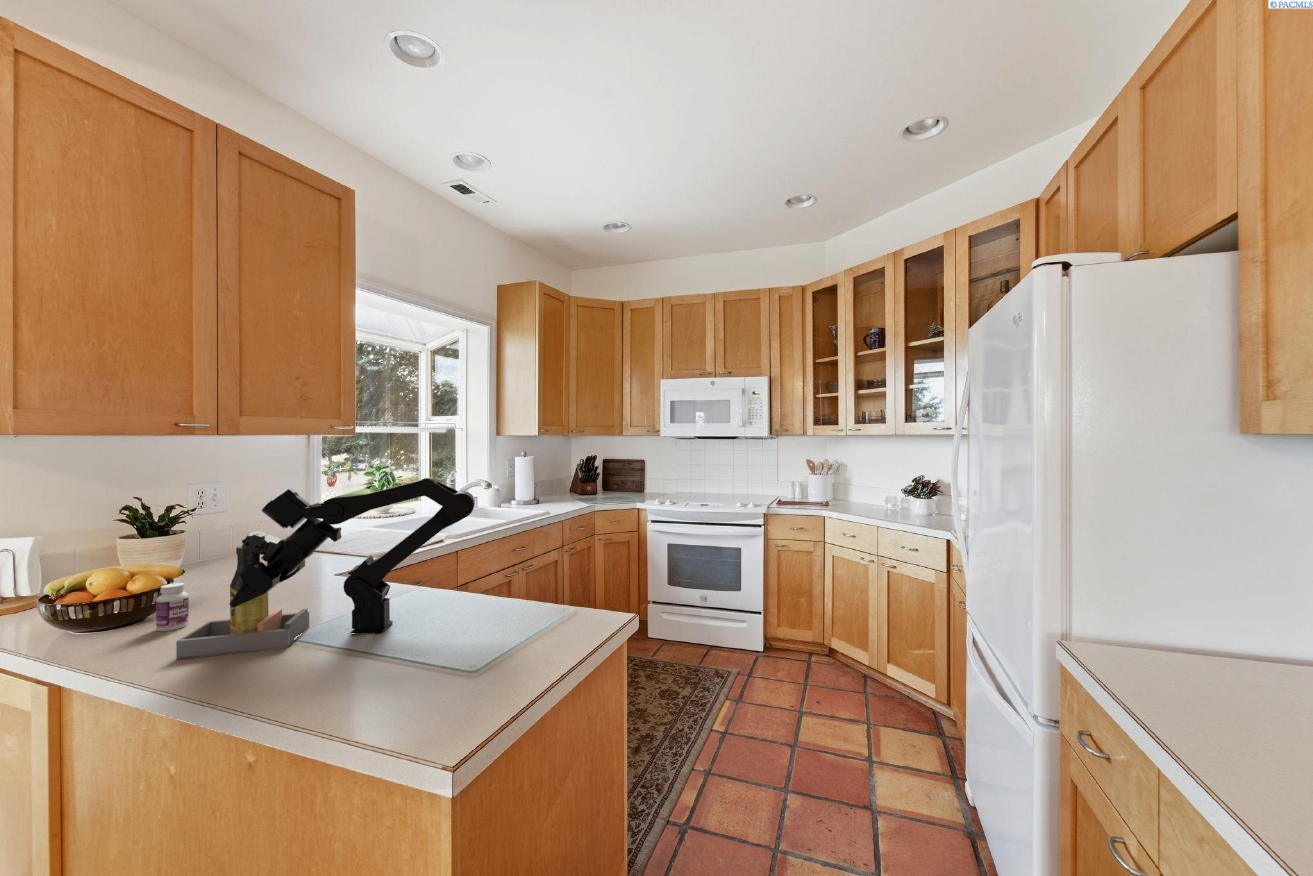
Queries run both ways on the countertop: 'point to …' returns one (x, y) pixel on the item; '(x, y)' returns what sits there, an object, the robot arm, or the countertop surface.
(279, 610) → the plate
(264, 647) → the tray
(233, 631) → the sauce bottle
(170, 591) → the pill bottle
